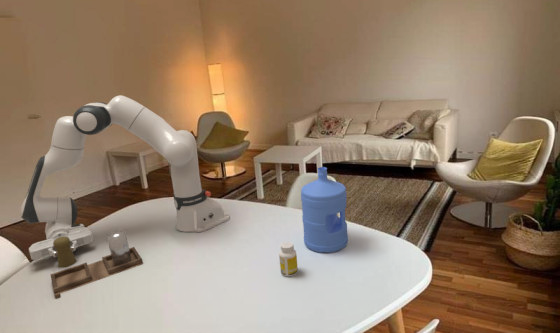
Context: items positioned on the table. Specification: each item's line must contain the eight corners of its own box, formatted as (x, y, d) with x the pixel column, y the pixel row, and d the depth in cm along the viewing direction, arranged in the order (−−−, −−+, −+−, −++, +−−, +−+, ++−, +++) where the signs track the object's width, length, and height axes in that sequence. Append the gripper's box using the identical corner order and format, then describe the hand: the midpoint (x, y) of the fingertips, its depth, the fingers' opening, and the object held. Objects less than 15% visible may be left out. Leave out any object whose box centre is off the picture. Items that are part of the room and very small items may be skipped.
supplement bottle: (299, 268, 124) (297, 241, 122) (295, 278, 120) (292, 250, 117) (283, 266, 126) (281, 239, 123) (278, 276, 121) (275, 248, 118)
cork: (69, 271, 134) (61, 242, 131) (54, 270, 136) (46, 242, 132) (81, 261, 140) (74, 234, 137) (66, 261, 141) (59, 234, 138)
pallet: (134, 252, 144) (133, 245, 143) (144, 266, 133) (142, 260, 132) (52, 280, 130) (50, 273, 129) (55, 298, 119) (53, 291, 119)
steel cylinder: (129, 255, 139) (123, 227, 136) (133, 262, 134) (127, 233, 131) (111, 261, 136) (105, 233, 133) (115, 268, 131) (108, 239, 128)
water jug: (298, 250, 135) (292, 174, 127) (311, 230, 149) (307, 160, 141) (342, 256, 129) (339, 177, 121) (352, 234, 143) (350, 162, 135)
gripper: (26, 239, 140) (27, 254, 129) (87, 222, 151) (93, 234, 140) (30, 254, 142) (32, 270, 131) (91, 236, 153) (97, 250, 141)
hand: (64, 252), depth 135 cm, fingers closed on cork, 4 cm apart
